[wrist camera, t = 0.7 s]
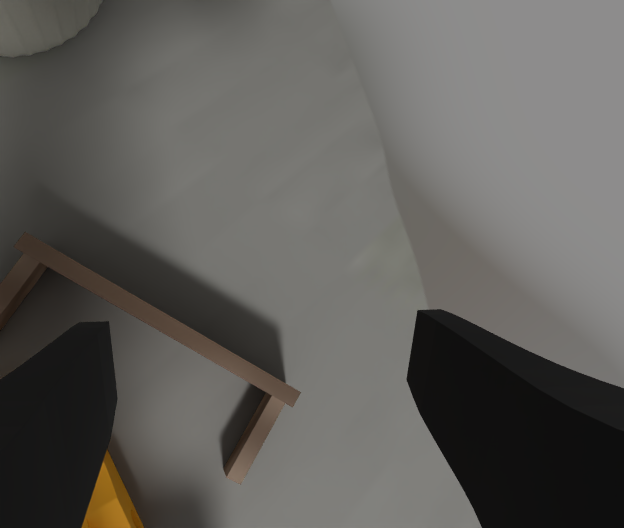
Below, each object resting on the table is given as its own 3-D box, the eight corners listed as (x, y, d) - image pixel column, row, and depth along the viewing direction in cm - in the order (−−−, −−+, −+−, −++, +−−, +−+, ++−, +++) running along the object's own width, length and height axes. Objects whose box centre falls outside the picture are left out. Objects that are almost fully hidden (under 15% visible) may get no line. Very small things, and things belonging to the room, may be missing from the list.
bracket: (236, 475, 32) (245, 495, 28) (-26, 335, 29) (-56, 336, 25) (286, 385, 33) (300, 392, 30) (43, 244, 31) (24, 231, 27)
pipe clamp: (147, 534, 30) (141, 586, 24) (77, 576, 29) (50, 643, 23) (64, 358, 30) (36, 364, 24) (-10, 392, 29) (-60, 409, 23)
